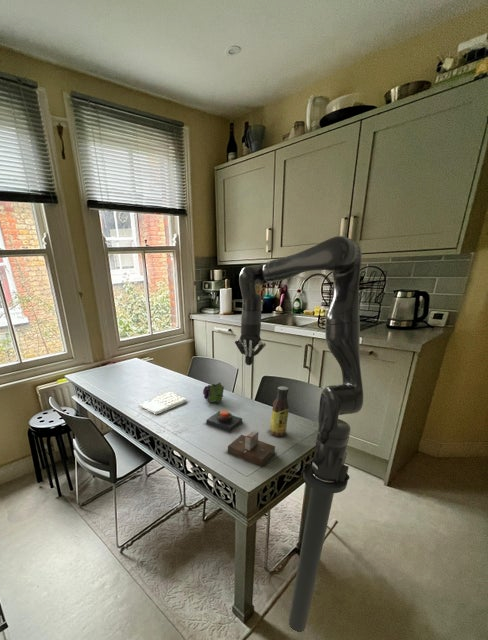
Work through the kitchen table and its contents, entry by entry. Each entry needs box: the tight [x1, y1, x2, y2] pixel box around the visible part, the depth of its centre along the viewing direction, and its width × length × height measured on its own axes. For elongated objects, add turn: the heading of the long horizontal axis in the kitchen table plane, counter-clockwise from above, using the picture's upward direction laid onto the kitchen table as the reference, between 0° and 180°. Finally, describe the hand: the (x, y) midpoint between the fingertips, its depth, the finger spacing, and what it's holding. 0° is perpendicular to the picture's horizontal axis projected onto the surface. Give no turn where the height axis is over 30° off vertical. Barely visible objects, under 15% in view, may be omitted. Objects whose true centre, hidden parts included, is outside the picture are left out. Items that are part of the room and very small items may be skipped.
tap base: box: [227, 434, 276, 467], centre depth 116 cm, size 14×10×3 cm
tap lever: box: [245, 429, 259, 451], centre depth 114 cm, size 6×2×5 cm, turn 141°
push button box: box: [205, 410, 243, 433], centre depth 137 cm, size 12×10×4 cm
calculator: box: [139, 391, 187, 415], centre depth 156 cm, size 13×20×2 cm, turn 132°
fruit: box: [202, 382, 225, 404], centre depth 156 cm, size 10×11×15 cm
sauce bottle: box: [269, 385, 290, 437], centre depth 125 cm, size 7×6×20 cm
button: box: [220, 410, 230, 418], centre depth 135 cm, size 4×4×2 cm
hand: (248, 364), depth 129 cm, fingers closed
